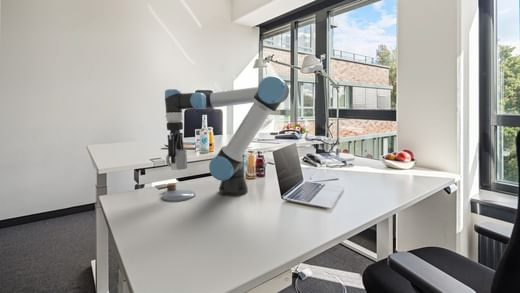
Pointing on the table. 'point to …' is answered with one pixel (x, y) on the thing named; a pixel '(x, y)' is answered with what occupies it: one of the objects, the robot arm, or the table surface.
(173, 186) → the walnut block
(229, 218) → the table surface
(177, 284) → the table surface
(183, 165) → the cup
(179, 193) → the dish
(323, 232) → the table surface
